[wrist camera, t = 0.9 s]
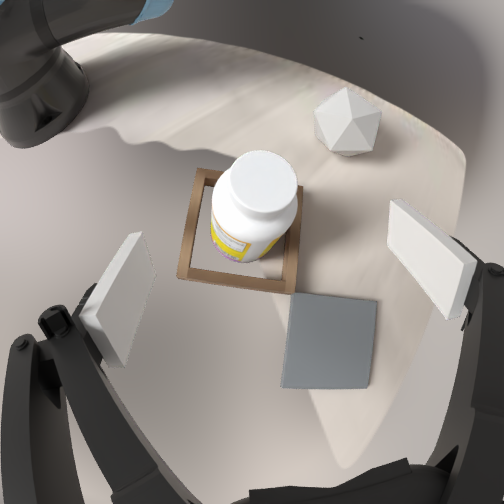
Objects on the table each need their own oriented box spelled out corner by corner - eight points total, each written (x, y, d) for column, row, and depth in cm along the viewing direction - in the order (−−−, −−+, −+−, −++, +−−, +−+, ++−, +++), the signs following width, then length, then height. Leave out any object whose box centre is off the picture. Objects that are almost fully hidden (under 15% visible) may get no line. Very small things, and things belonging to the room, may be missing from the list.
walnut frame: (197, 176, 32) (197, 167, 30) (297, 193, 34) (303, 186, 32) (178, 278, 30) (176, 276, 28) (289, 294, 31) (294, 292, 29)
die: (371, 143, 38) (371, 79, 32) (385, 173, 32) (389, 97, 26) (315, 143, 40) (309, 79, 33) (318, 174, 34) (312, 96, 27)
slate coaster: (291, 292, 31) (293, 291, 30) (373, 301, 32) (376, 301, 32) (280, 386, 29) (282, 388, 28) (363, 387, 30) (367, 388, 29)
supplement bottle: (268, 202, 33) (304, 138, 21) (276, 261, 32) (321, 224, 19) (207, 205, 32) (211, 138, 19) (212, 266, 31) (217, 230, 18)
